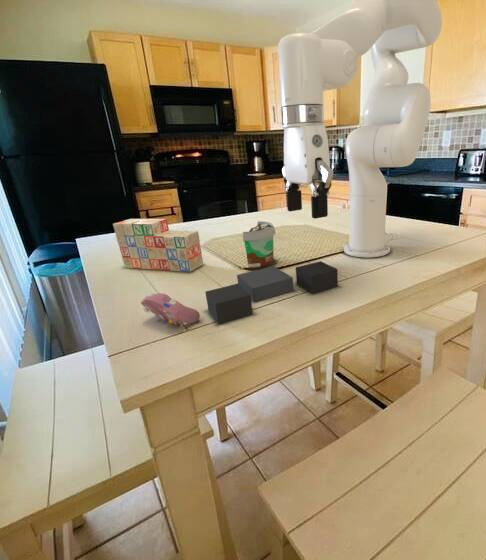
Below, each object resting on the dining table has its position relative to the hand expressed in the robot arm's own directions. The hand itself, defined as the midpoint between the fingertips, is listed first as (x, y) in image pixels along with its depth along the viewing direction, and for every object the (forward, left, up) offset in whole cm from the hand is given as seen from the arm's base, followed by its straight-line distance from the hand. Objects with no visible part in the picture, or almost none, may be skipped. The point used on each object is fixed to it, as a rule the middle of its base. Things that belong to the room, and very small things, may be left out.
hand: (306, 213), depth 67 cm
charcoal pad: (-1, +1, -16) cm, 16 cm away
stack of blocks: (+25, -35, -16) cm, 46 cm away
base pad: (+9, -4, -16) cm, 18 cm away
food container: (+2, -19, -16) cm, 25 cm away
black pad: (+19, +2, -16) cm, 24 cm away
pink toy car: (+29, -1, -16) cm, 33 cm away
